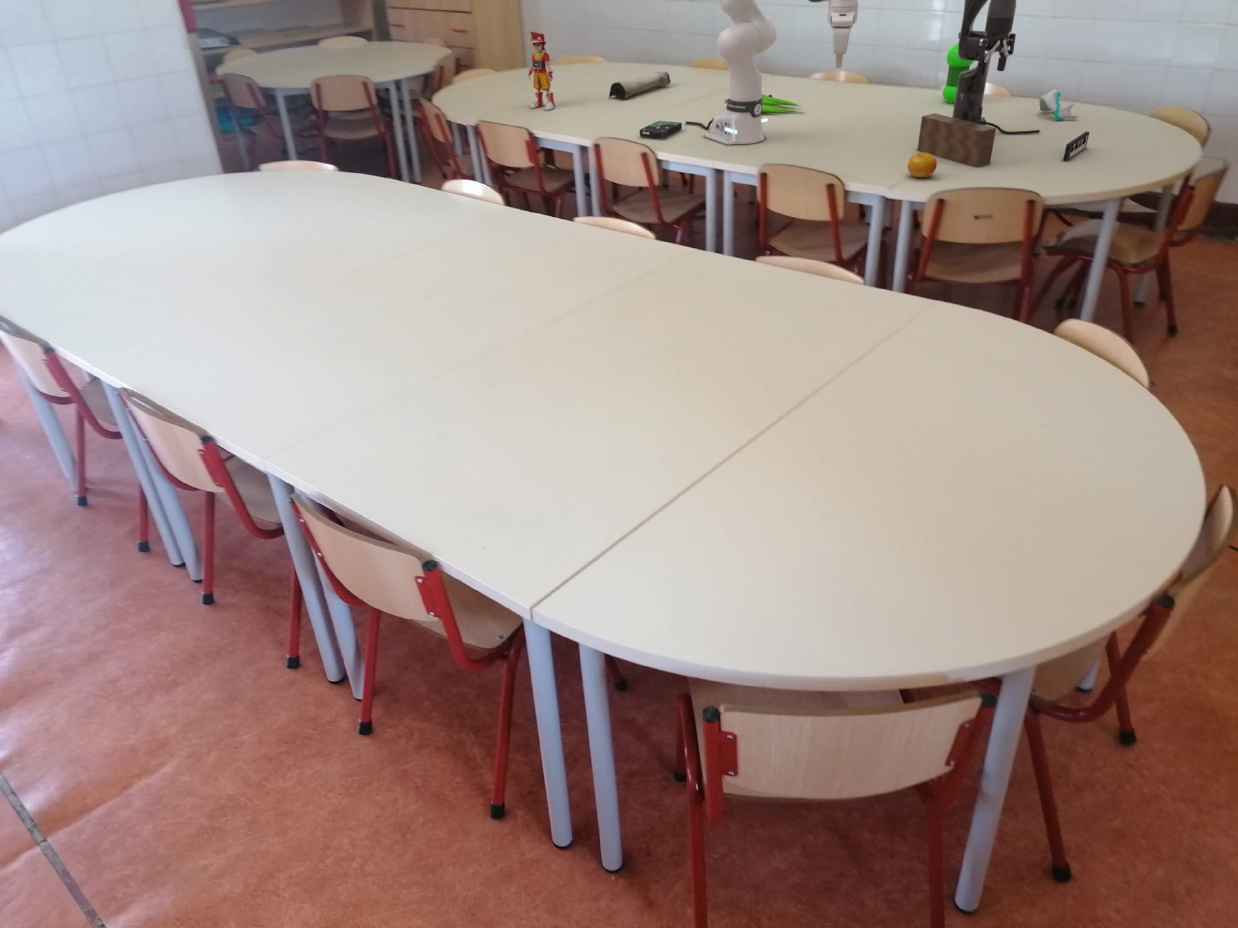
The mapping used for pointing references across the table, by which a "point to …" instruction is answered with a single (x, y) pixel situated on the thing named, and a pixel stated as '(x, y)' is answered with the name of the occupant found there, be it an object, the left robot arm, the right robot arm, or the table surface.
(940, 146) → the box
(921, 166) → the fruit
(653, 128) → the disk drive
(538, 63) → the toy
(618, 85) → the rolled mat
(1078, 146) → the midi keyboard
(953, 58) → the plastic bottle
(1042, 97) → the white and teal piece
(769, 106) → the toy
